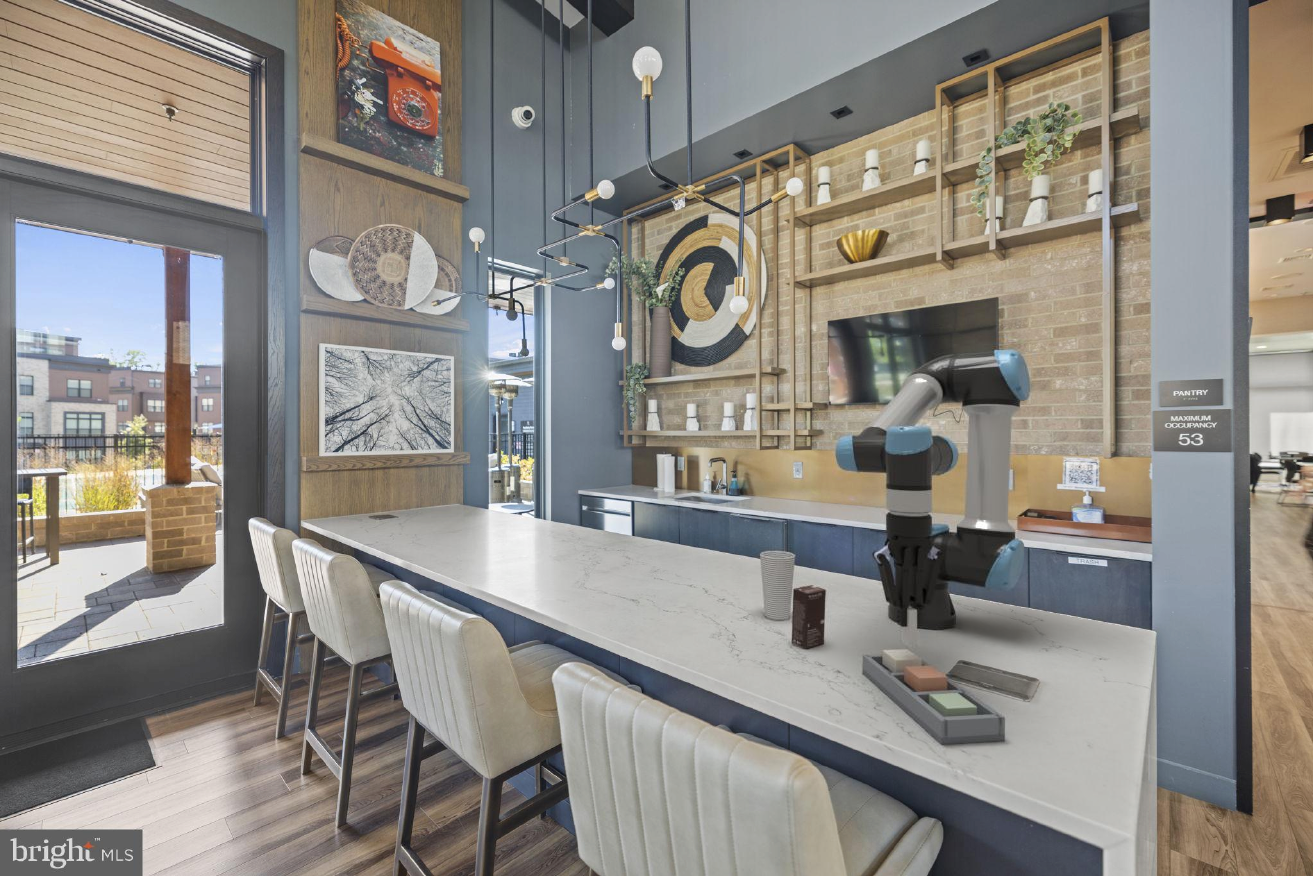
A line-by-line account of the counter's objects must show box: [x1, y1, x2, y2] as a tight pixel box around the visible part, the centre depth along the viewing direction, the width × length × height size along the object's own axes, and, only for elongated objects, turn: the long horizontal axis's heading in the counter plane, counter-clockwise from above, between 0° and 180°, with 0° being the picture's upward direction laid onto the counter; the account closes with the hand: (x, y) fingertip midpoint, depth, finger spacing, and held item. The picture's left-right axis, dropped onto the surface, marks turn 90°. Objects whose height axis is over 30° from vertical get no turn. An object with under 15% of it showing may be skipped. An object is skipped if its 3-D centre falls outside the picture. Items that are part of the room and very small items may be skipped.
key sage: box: [929, 693, 977, 717], centre depth 90 cm, size 5×5×2 cm
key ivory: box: [882, 648, 923, 673], centre depth 105 cm, size 5×5×2 cm
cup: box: [759, 550, 796, 621], centre depth 143 cm, size 8×8×16 cm
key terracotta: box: [904, 664, 948, 692], centre depth 97 cm, size 5×5×2 cm
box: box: [791, 584, 827, 649], centre depth 124 cm, size 6×4×12 cm
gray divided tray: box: [862, 653, 1006, 745], centre depth 97 cm, size 10×25×4 cm, turn 6°
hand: (908, 643), depth 104 cm, fingers closed
